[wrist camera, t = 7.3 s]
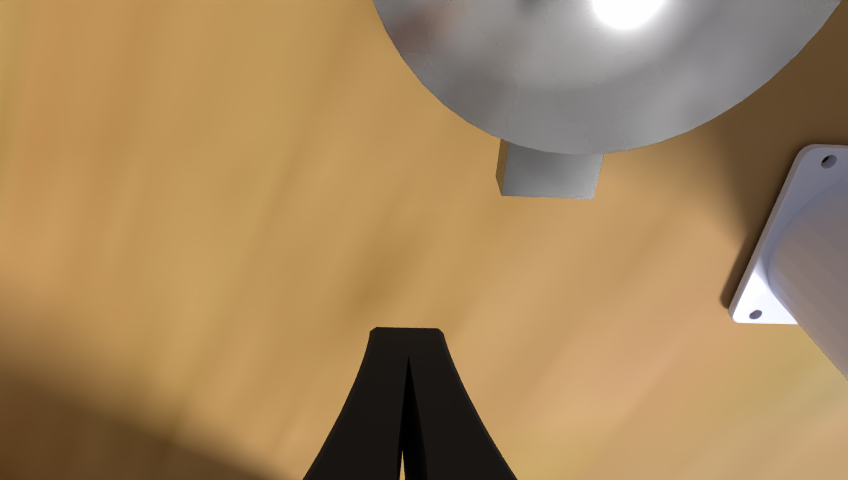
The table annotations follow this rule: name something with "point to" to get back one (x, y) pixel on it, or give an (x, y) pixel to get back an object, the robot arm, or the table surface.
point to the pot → (546, 173)
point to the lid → (597, 63)
